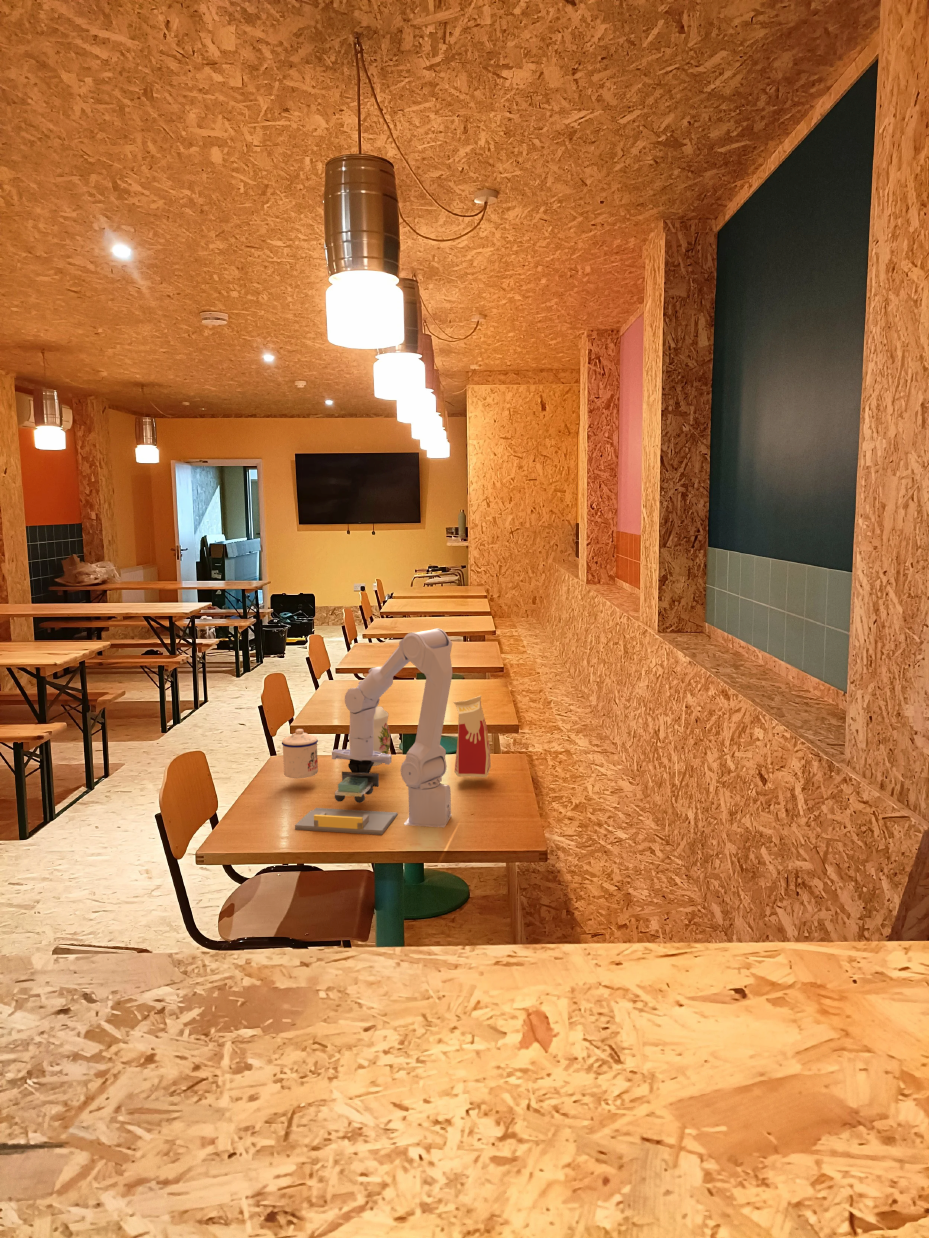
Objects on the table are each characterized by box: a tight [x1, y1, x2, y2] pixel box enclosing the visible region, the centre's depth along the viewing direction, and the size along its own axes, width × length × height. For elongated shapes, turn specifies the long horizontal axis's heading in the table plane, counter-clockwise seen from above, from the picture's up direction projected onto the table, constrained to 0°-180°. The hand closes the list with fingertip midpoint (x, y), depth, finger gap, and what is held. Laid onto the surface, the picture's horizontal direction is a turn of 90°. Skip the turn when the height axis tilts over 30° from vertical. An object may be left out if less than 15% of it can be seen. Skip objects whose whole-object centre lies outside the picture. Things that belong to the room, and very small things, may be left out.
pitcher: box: [348, 705, 391, 767], centre depth 213 cm, size 11×18×14 cm, turn 166°
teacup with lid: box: [281, 728, 319, 779], centre depth 207 cm, size 12×9×12 cm
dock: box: [294, 807, 398, 836], centre depth 181 cm, size 20×12×3 cm, turn 79°
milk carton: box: [452, 695, 492, 778], centre depth 205 cm, size 9×9×20 cm
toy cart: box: [334, 771, 380, 804], centre depth 187 cm, size 9×9×5 cm
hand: (361, 789), depth 194 cm, fingers closed, pressing on toy cart
